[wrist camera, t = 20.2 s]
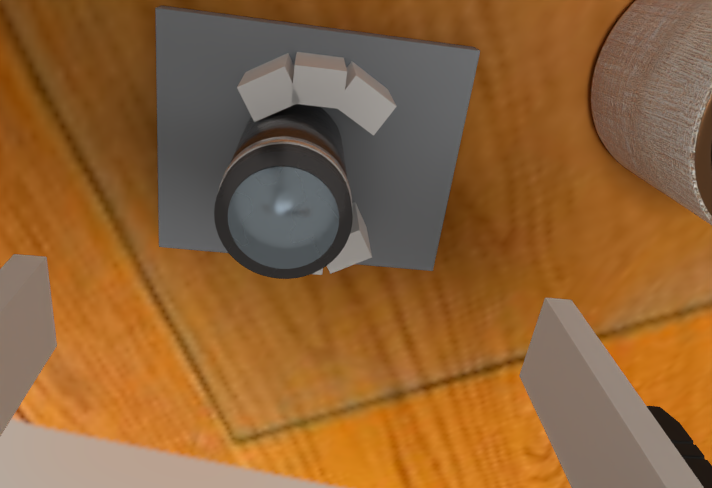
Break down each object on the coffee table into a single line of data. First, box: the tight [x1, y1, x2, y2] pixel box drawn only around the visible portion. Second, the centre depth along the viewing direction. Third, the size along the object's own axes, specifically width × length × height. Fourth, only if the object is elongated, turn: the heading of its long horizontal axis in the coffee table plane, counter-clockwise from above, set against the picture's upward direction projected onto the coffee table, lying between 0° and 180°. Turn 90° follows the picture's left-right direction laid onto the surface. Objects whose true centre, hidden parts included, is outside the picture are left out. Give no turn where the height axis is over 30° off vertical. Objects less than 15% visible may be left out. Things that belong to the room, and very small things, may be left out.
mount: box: [156, 6, 480, 275], centre depth 29 cm, size 12×15×5 cm
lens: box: [214, 104, 353, 279], centre depth 26 cm, size 5×5×9 cm
